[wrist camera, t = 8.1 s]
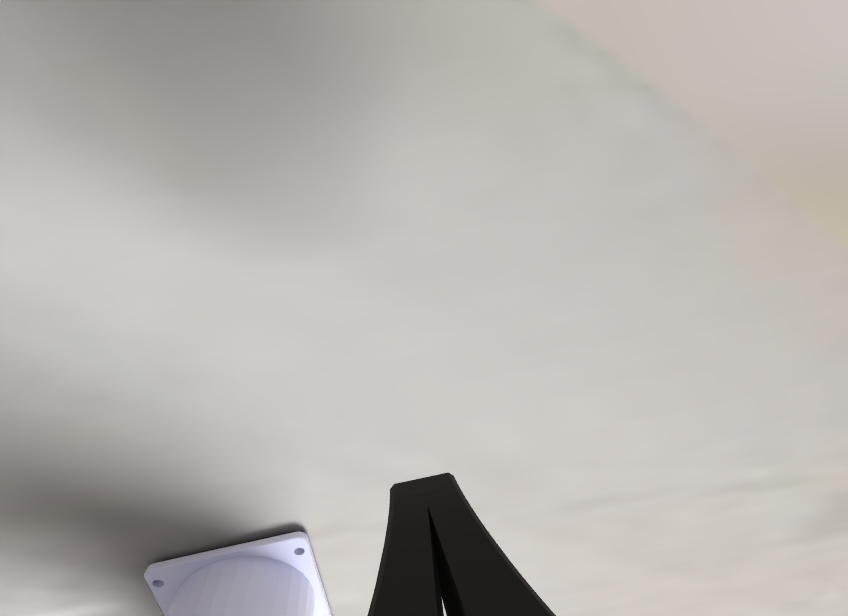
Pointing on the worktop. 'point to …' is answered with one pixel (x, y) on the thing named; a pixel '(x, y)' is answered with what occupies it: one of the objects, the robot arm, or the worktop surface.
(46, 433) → the worktop surface
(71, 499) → the worktop surface
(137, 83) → the worktop surface
